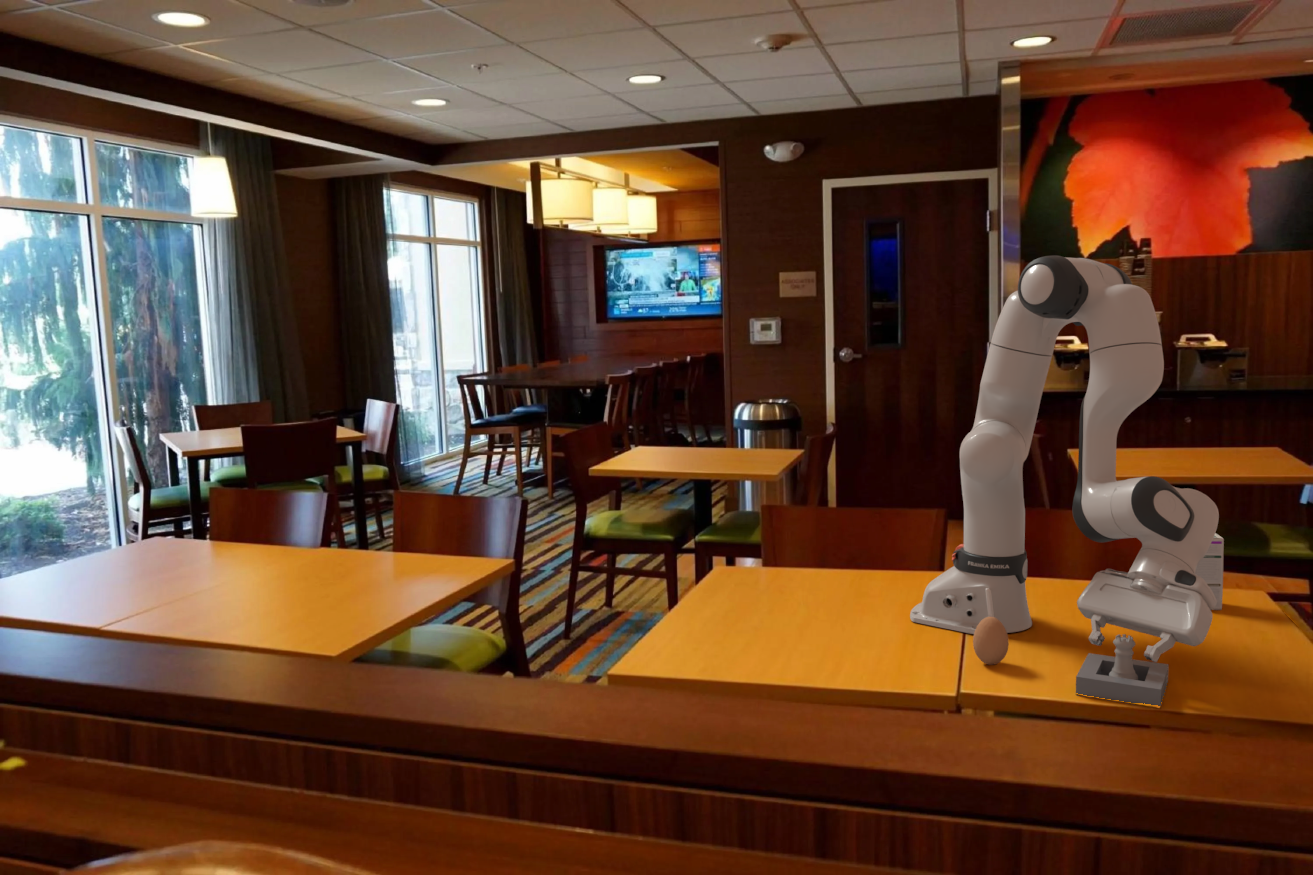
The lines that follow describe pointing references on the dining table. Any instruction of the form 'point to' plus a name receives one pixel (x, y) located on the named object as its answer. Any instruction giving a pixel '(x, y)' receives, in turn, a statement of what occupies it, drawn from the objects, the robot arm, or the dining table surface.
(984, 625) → the egg
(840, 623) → the dining table surface
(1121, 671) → the rook chess piece
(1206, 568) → the syrup box
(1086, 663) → the socket block
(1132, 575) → the robot arm
